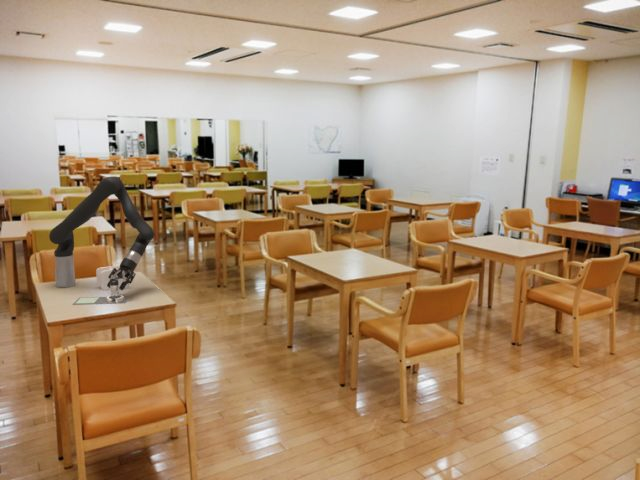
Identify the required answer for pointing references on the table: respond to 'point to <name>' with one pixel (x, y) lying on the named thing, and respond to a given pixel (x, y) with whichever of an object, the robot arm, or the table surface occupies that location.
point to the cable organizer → (106, 277)
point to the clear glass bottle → (114, 289)
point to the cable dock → (101, 300)
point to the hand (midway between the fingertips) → (114, 288)
